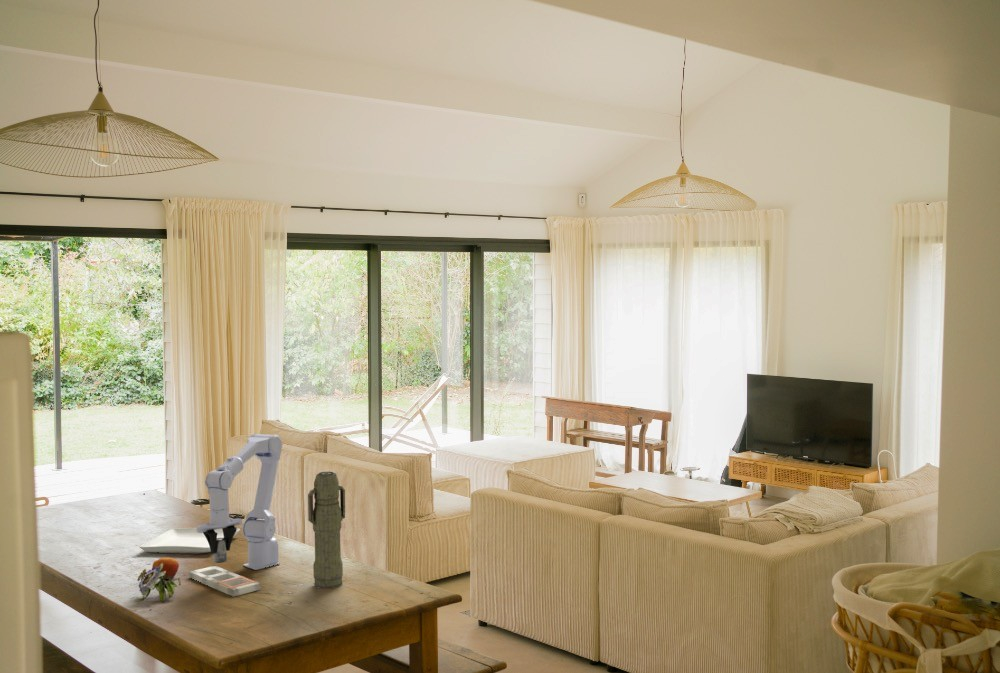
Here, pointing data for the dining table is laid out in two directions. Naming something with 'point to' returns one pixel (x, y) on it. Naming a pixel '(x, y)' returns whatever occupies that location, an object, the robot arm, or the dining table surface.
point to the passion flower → (156, 582)
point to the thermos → (327, 529)
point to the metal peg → (220, 551)
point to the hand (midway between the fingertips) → (220, 551)
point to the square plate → (181, 541)
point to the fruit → (167, 566)
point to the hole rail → (224, 580)
